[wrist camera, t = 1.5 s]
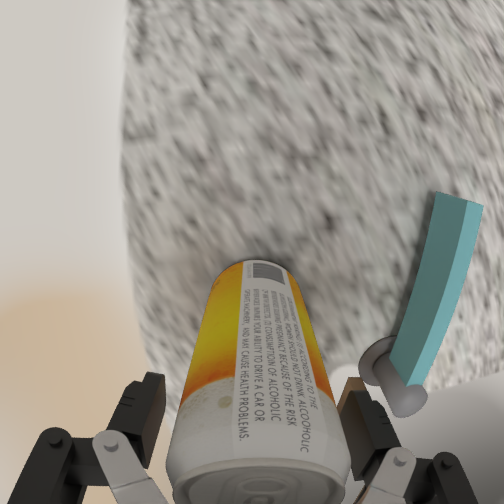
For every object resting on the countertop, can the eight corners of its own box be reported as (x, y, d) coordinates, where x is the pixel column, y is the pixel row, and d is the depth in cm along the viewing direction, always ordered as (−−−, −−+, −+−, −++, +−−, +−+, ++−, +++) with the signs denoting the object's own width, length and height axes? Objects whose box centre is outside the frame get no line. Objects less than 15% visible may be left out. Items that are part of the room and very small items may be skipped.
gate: (454, 196, 19) (497, 209, 14) (397, 378, 23) (418, 415, 19) (423, 188, 19) (464, 200, 14) (368, 378, 23) (386, 419, 19)
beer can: (209, 331, 22) (169, 526, 8) (213, 251, 21) (147, 443, 6) (292, 338, 23) (327, 531, 8) (306, 260, 21) (388, 450, 6)
